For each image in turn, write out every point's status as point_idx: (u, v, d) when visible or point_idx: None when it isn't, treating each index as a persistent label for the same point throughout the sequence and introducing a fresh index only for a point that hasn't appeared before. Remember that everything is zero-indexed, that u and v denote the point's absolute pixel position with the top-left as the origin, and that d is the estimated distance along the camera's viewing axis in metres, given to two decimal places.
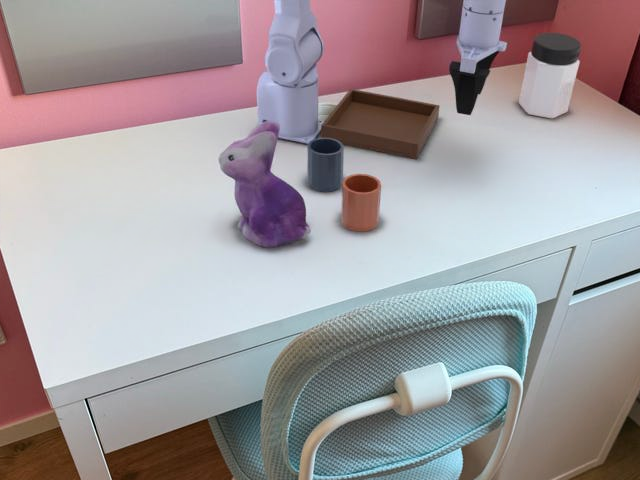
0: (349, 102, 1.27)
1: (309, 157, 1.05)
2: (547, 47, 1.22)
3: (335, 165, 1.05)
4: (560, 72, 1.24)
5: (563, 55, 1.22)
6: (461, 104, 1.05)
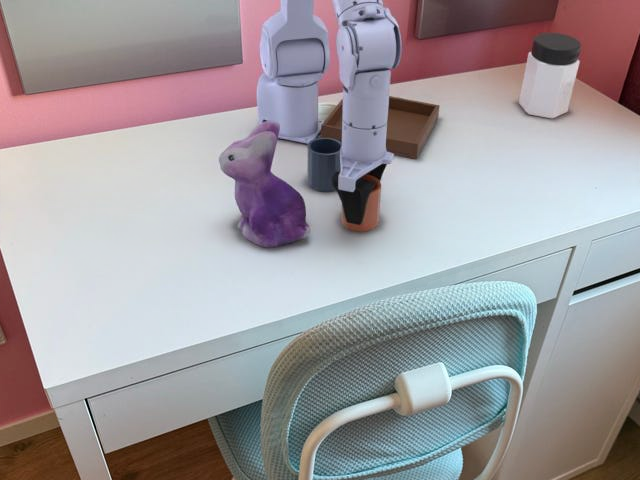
0: None
1: (309, 157, 1.05)
2: (547, 47, 1.22)
3: (335, 165, 1.05)
4: (560, 72, 1.24)
5: (563, 55, 1.22)
6: (349, 214, 0.98)
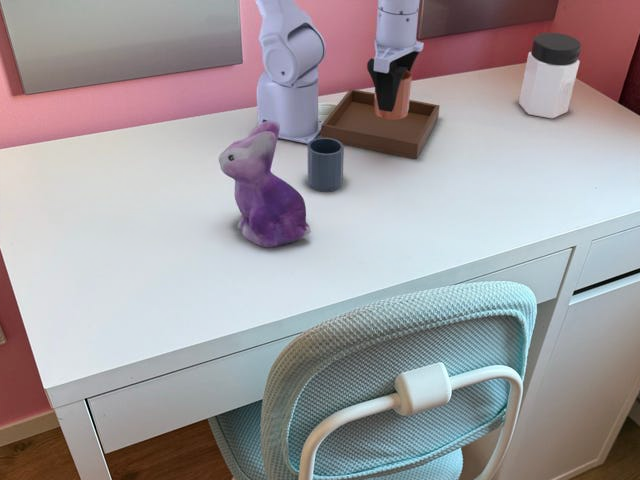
0: (349, 102, 1.27)
1: (309, 157, 1.05)
2: (547, 47, 1.22)
3: (335, 165, 1.05)
4: (560, 72, 1.24)
5: (563, 55, 1.22)
6: (382, 101, 1.07)
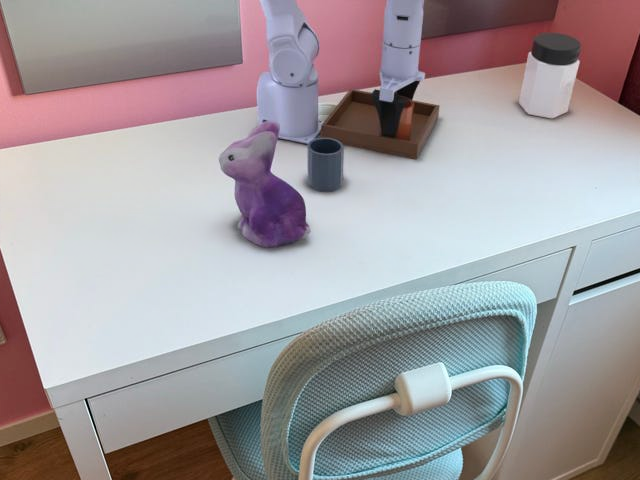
0: (349, 102, 1.27)
1: (309, 157, 1.05)
2: (547, 47, 1.22)
3: (335, 165, 1.05)
4: (560, 72, 1.24)
5: (563, 55, 1.22)
6: (385, 128, 1.15)
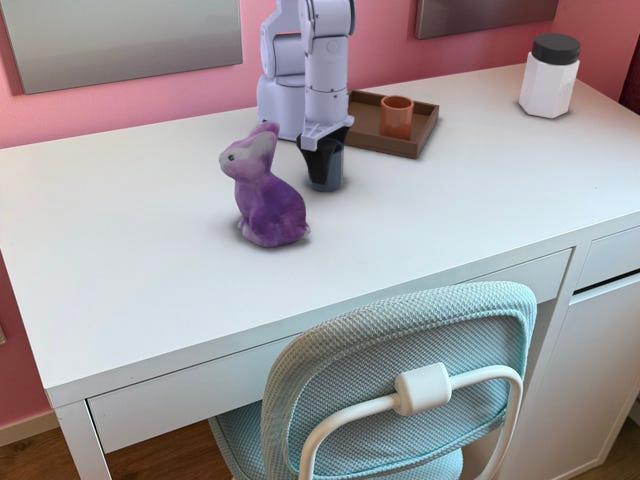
0: (349, 102, 1.27)
1: None
2: (547, 47, 1.22)
3: (335, 165, 1.05)
4: (560, 72, 1.24)
5: (563, 55, 1.22)
6: (314, 174, 1.05)
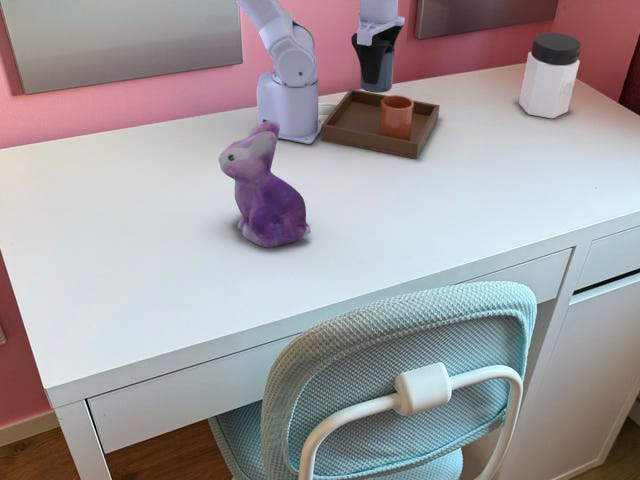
0: (349, 102, 1.27)
1: None
2: (547, 47, 1.22)
3: (387, 65, 1.12)
4: (560, 72, 1.24)
5: (563, 55, 1.22)
6: (366, 74, 1.12)
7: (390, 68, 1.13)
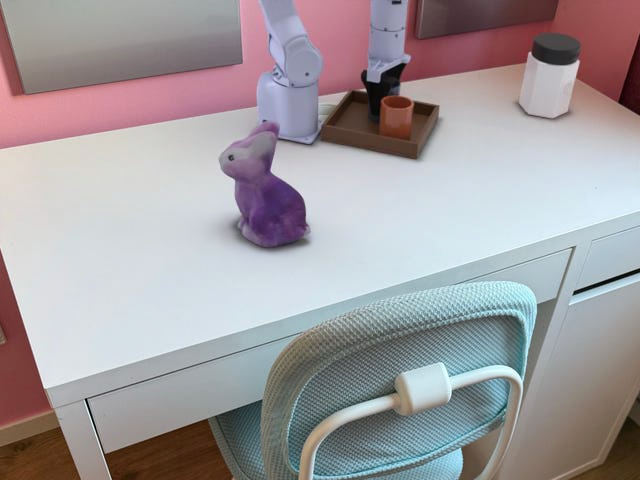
0: (349, 102, 1.27)
1: None
2: (547, 47, 1.22)
3: None
4: (560, 72, 1.24)
5: (563, 55, 1.22)
6: (374, 107, 1.21)
7: None
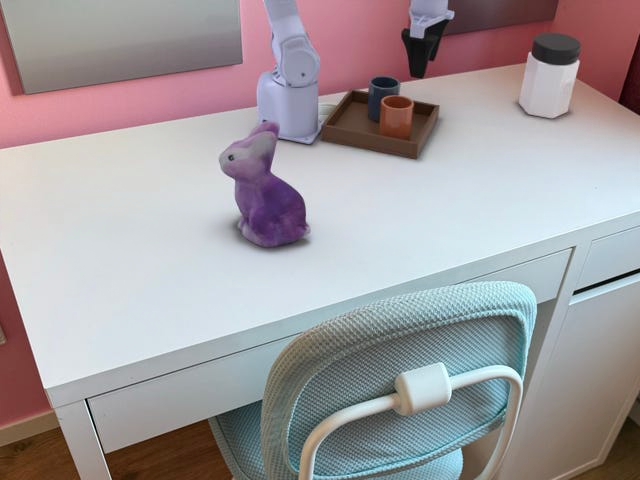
0: (349, 102, 1.27)
1: (370, 92, 1.21)
2: (547, 47, 1.22)
3: None
4: (560, 72, 1.24)
5: (563, 55, 1.22)
6: (414, 68, 1.15)
7: None
